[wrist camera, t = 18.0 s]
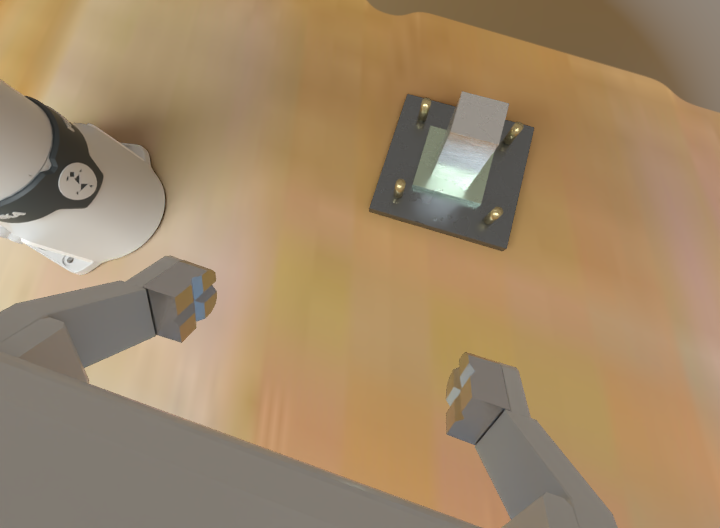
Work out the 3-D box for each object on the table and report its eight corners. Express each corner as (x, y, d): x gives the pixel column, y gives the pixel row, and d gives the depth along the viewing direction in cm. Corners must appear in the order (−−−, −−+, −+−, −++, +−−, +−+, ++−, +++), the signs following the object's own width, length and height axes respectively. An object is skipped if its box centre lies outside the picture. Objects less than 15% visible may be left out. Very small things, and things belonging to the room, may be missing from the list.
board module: (411, 187, 41) (426, 143, 32) (429, 129, 43) (448, 71, 34) (478, 206, 41) (514, 167, 31) (493, 146, 43) (531, 92, 33)
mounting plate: (369, 211, 42) (369, 198, 38) (406, 100, 46) (410, 77, 42) (502, 251, 41) (517, 241, 37) (529, 133, 44) (546, 112, 40)
